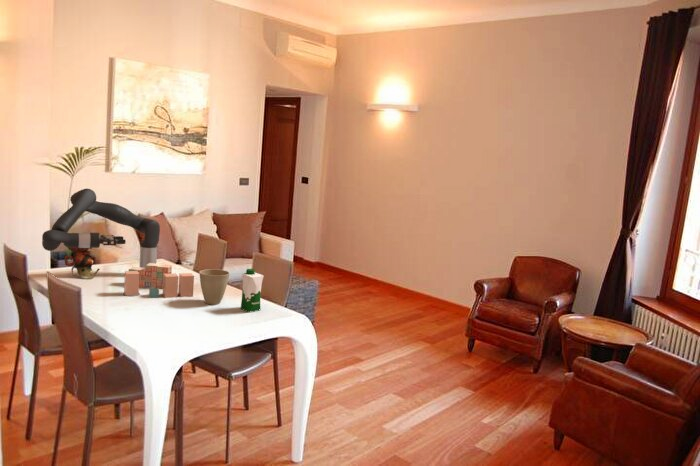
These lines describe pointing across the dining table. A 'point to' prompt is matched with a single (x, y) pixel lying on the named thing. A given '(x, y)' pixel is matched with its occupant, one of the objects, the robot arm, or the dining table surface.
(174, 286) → the salmon rectangular block
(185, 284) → the peach rectangular block
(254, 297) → the milk carton
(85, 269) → the stuffed monkey
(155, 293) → the green cube
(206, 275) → the plant pot
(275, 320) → the dining table surface
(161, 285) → the stack of blocks
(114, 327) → the dining table surface
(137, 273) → the salmon pink rectangular block
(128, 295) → the grey round disc
